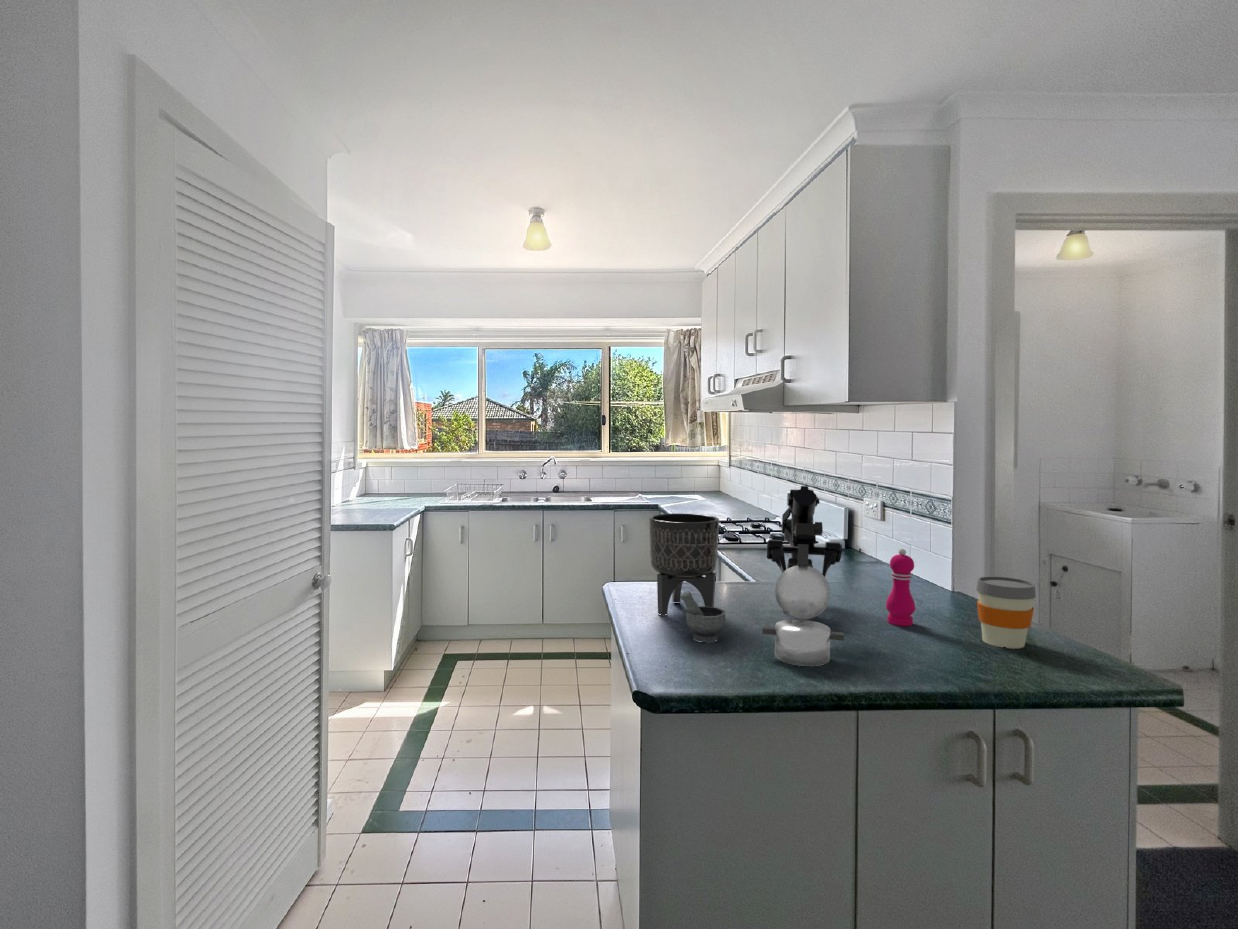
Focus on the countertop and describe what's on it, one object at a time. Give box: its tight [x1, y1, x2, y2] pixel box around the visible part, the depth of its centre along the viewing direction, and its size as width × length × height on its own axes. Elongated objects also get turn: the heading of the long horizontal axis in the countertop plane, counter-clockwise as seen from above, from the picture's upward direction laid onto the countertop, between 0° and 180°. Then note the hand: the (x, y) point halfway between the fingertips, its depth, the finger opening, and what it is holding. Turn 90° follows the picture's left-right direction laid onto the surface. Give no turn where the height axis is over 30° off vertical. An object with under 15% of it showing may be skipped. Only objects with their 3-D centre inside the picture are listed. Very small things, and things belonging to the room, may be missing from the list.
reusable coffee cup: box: [975, 575, 1037, 649], centre depth 162 cm, size 13×13×15 cm
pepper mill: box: [885, 548, 916, 627], centre depth 178 cm, size 7×7×20 cm
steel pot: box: [761, 618, 845, 666], centre depth 150 cm, size 12×18×7 cm
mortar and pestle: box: [680, 590, 726, 643], centre depth 162 cm, size 11×9×12 cm
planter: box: [648, 512, 720, 615], centre depth 187 cm, size 20×20×26 cm
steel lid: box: [774, 544, 831, 620], centre depth 159 cm, size 18×13×1 cm
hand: (804, 578), depth 169 cm, fingers open, 9 cm apart
